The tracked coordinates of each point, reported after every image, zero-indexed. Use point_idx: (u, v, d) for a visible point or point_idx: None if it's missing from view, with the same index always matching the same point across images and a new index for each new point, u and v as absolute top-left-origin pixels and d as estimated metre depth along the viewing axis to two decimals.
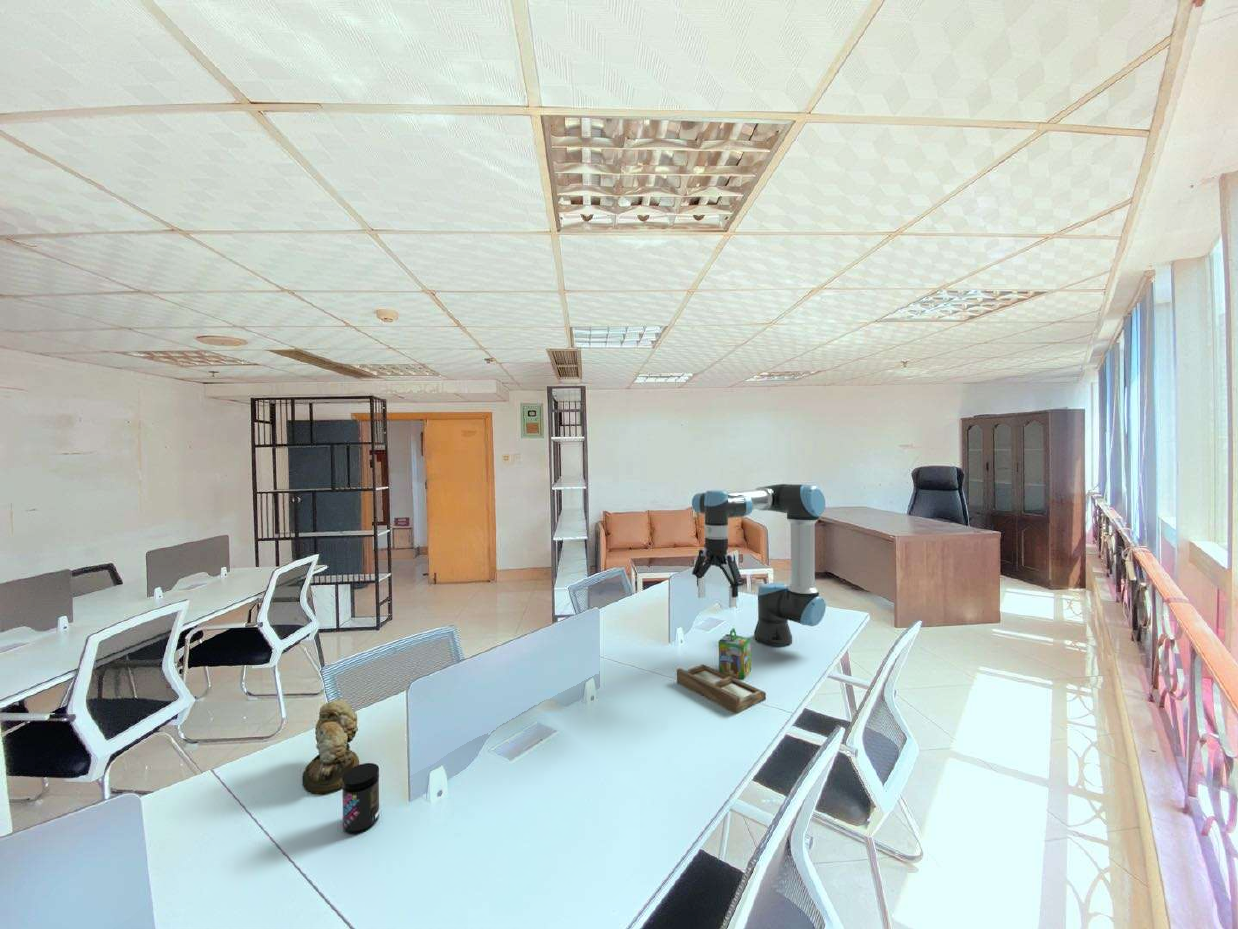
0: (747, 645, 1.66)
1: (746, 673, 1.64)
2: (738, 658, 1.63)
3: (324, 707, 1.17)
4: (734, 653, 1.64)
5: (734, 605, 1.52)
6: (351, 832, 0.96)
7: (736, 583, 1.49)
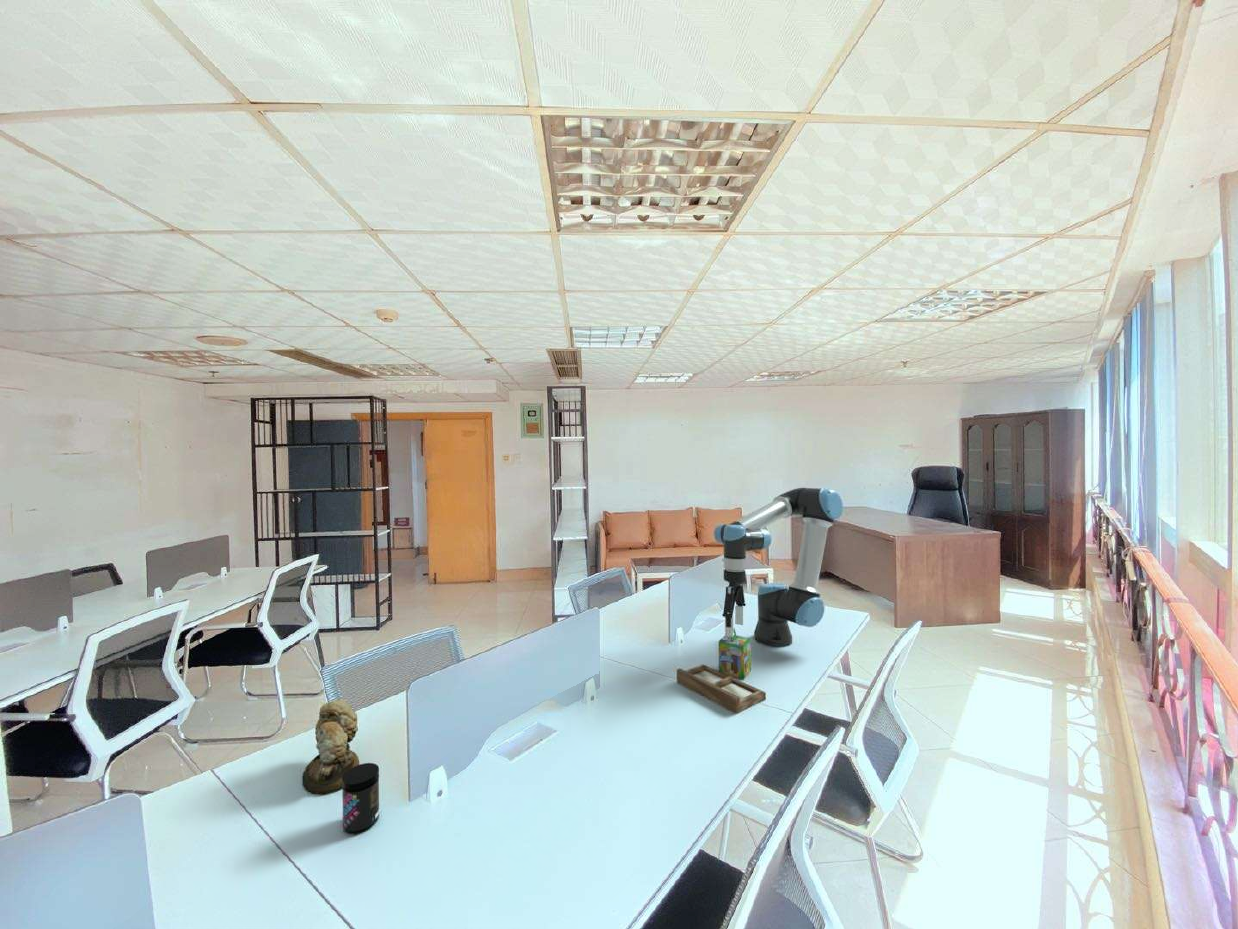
0: (747, 645, 1.66)
1: (746, 673, 1.64)
2: (738, 658, 1.63)
3: (324, 707, 1.17)
4: (734, 653, 1.64)
5: (729, 635, 1.61)
6: (351, 832, 0.96)
7: None
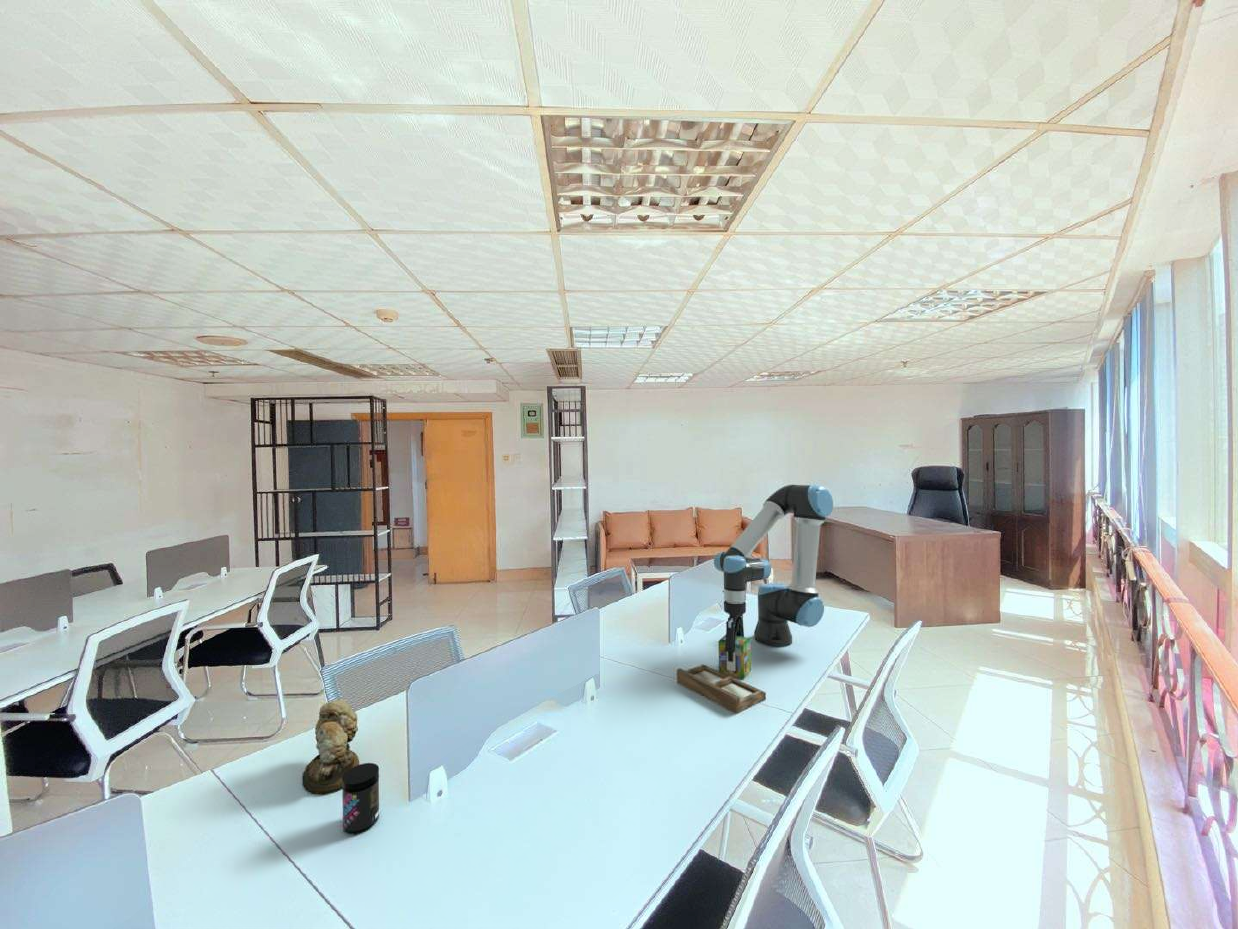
0: (747, 644, 1.66)
1: (746, 673, 1.64)
2: (738, 658, 1.63)
3: (324, 707, 1.17)
4: None
5: (732, 669, 1.63)
6: (351, 832, 0.96)
7: None
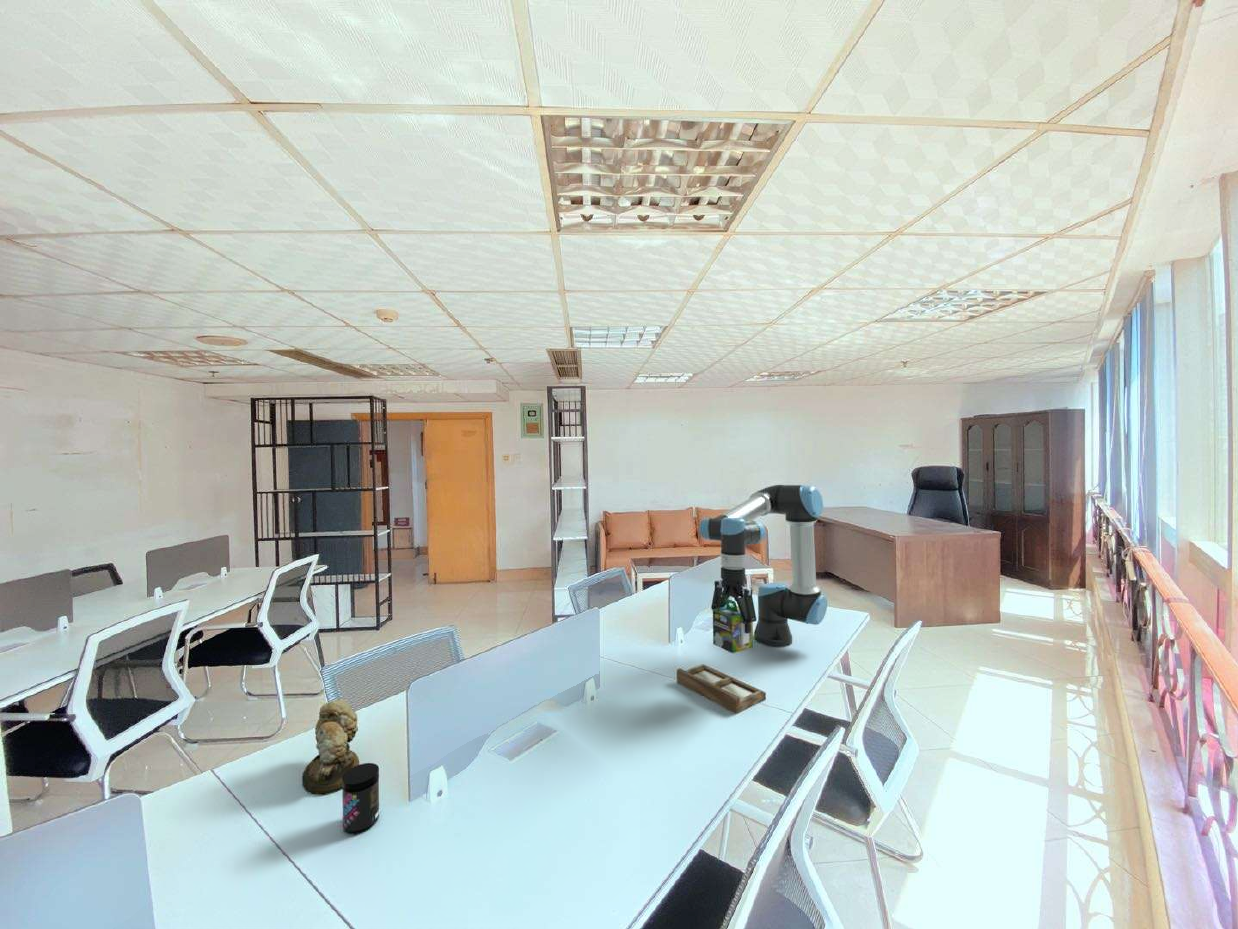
0: None
1: None
2: None
3: (324, 707, 1.17)
4: None
5: (747, 641, 1.47)
6: (351, 832, 0.96)
7: (749, 619, 1.44)
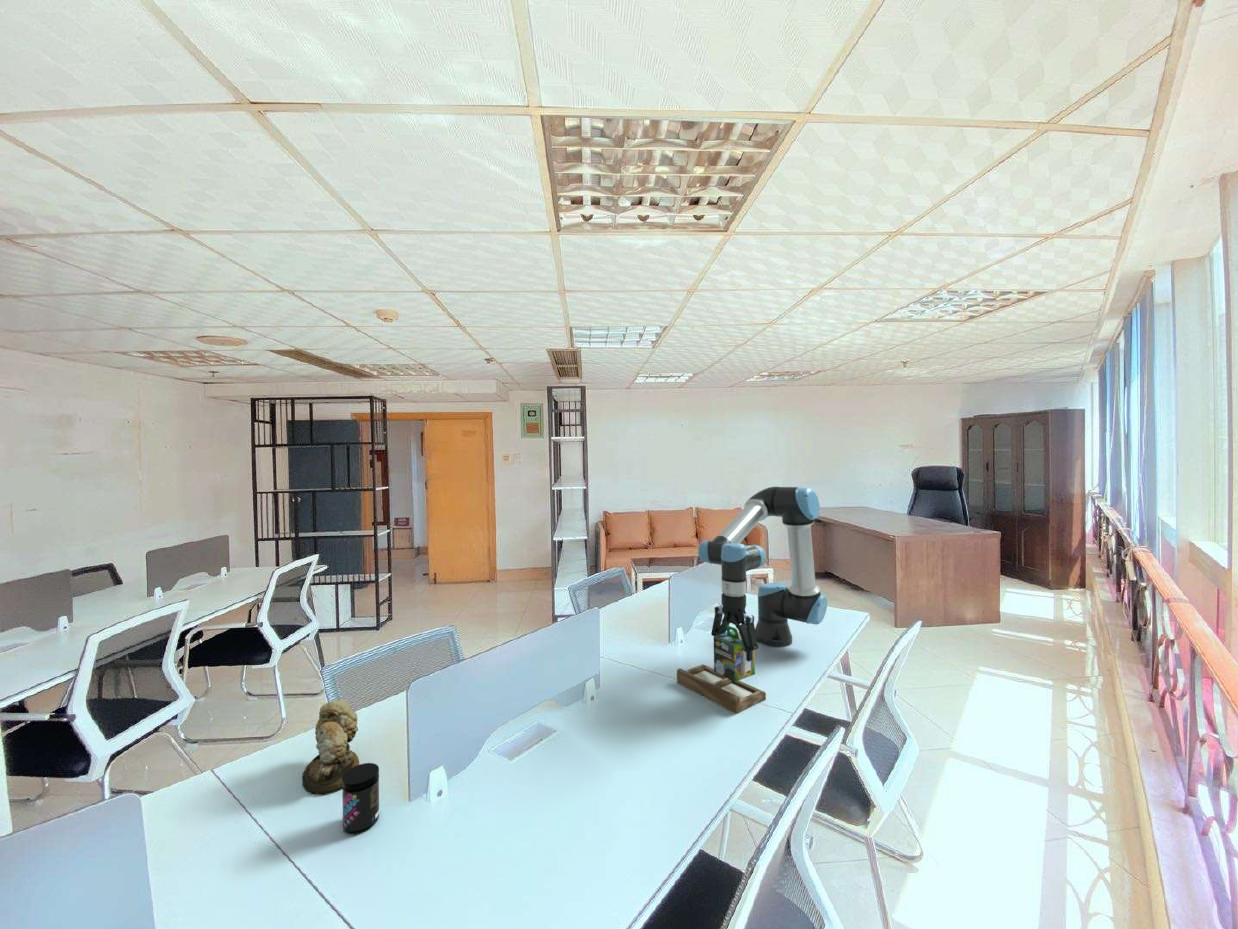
0: None
1: None
2: None
3: (324, 707, 1.17)
4: None
5: (748, 669, 1.45)
6: (351, 832, 0.96)
7: (751, 647, 1.43)
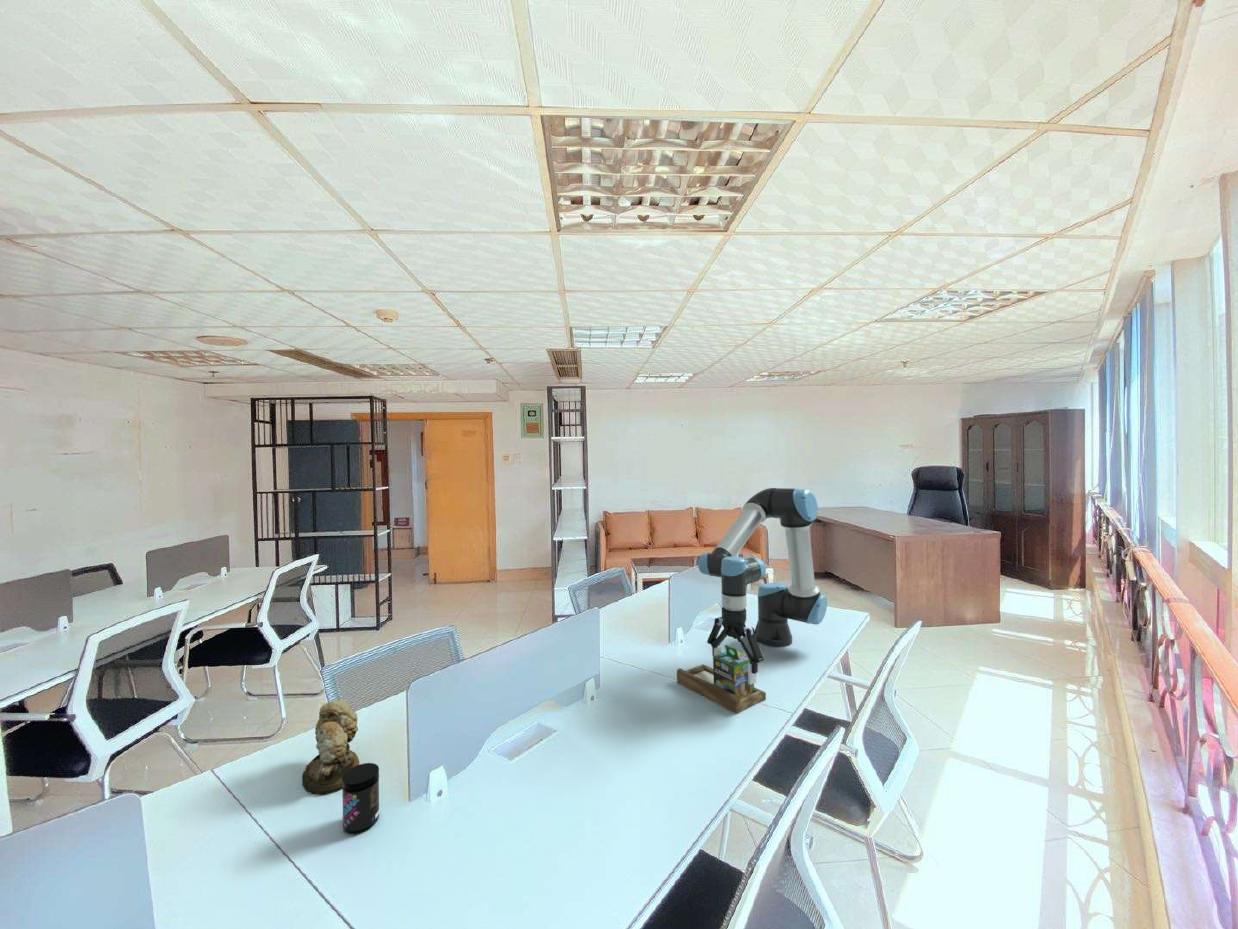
0: None
1: None
2: None
3: (324, 707, 1.17)
4: (747, 670, 1.47)
5: (753, 681, 1.44)
6: (351, 832, 0.96)
7: (756, 660, 1.41)
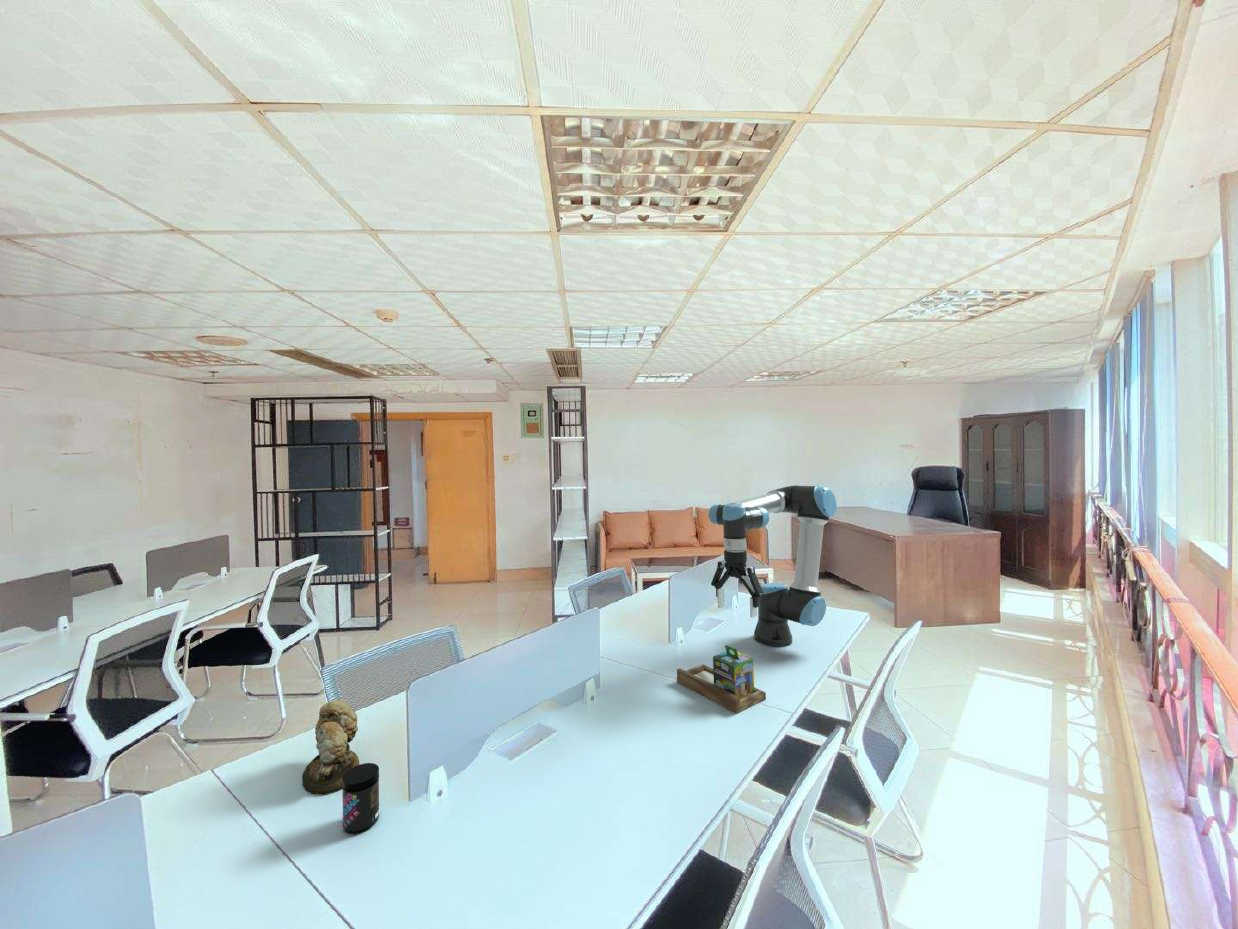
0: None
1: None
2: (750, 674, 1.48)
3: (324, 707, 1.17)
4: (747, 670, 1.47)
5: (755, 615, 1.58)
6: (351, 832, 0.96)
7: (757, 594, 1.55)
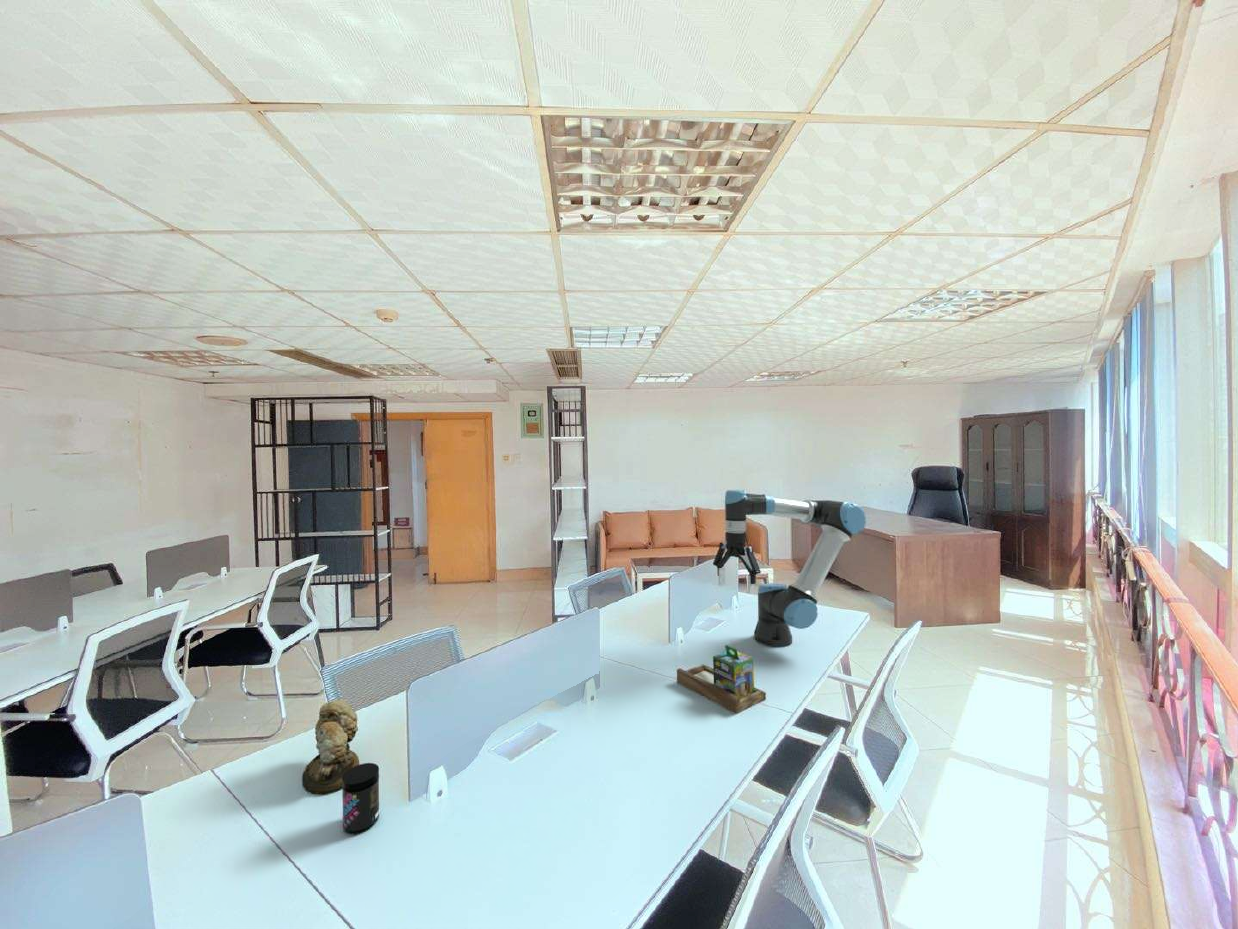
0: None
1: None
2: (750, 674, 1.48)
3: (324, 707, 1.17)
4: (747, 670, 1.47)
5: (752, 591, 1.72)
6: (351, 832, 0.96)
7: (754, 571, 1.69)
